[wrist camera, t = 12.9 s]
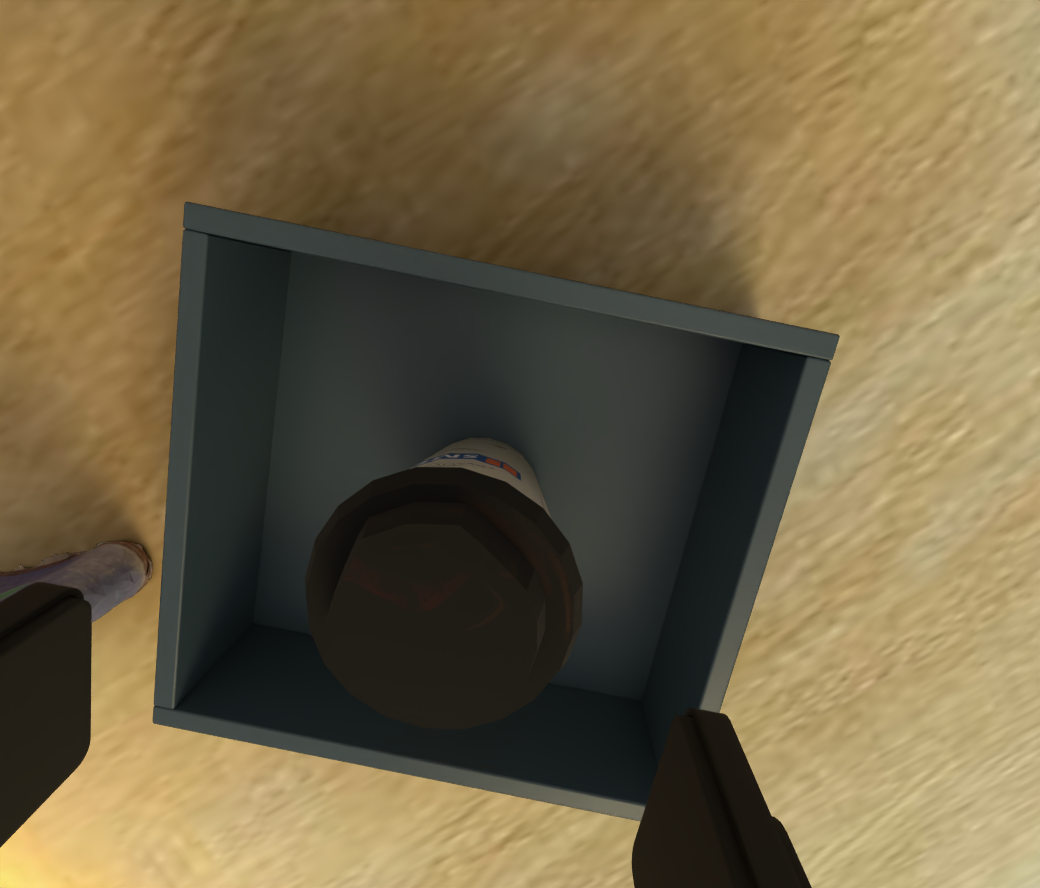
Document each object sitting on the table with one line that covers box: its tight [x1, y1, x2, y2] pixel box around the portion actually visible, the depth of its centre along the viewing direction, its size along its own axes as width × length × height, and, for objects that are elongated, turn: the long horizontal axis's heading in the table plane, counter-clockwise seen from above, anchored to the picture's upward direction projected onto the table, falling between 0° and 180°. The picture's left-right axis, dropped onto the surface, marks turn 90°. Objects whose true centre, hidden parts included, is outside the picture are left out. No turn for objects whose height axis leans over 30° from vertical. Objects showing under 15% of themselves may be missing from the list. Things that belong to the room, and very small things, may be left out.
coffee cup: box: [305, 438, 583, 729], centre depth 18 cm, size 7×7×10 cm
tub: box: [153, 202, 839, 821], centre depth 21 cm, size 16×18×6 cm
